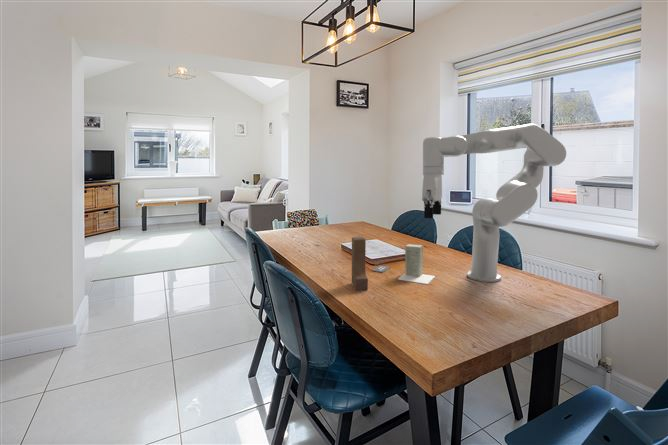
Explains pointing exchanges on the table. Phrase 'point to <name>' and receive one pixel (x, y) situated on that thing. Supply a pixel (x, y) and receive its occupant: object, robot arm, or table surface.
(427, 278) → the note sheet
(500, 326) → the table surface
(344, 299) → the table surface
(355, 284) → the wooden block
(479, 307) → the table surface
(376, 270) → the slate card
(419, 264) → the skincare box
